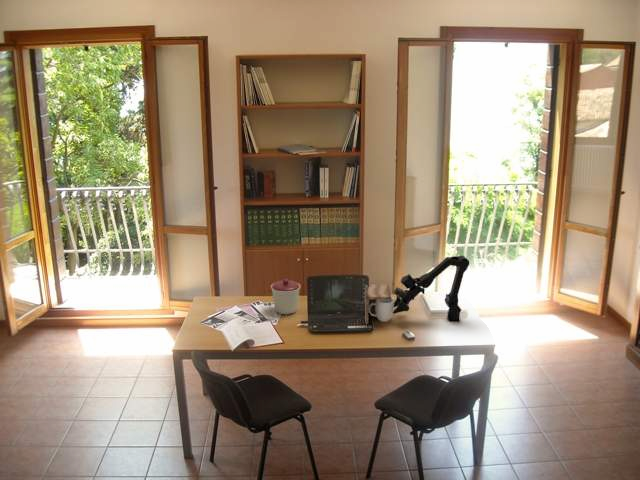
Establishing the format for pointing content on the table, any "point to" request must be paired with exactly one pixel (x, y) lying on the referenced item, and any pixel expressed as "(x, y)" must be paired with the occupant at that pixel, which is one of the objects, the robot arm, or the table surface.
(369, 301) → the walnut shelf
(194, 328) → the table surface
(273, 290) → the canister
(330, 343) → the table surface
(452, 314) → the robot arm
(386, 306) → the mug
